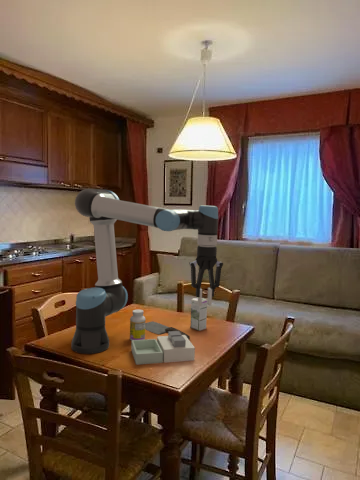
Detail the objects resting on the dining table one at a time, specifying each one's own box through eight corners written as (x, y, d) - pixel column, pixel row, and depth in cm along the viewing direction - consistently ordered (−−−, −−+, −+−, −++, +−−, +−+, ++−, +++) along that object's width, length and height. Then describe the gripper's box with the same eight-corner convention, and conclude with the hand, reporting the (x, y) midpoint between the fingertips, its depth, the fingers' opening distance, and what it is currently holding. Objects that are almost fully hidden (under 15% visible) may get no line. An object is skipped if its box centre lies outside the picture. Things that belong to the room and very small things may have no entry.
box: (136, 364, 137) (136, 354, 137) (131, 349, 151) (131, 340, 151) (162, 362, 140) (162, 352, 140) (155, 348, 153) (155, 338, 153)
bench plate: (163, 362, 140) (164, 349, 140) (156, 348, 154) (157, 336, 153) (194, 360, 143) (194, 347, 143) (184, 346, 157) (185, 334, 156)
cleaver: (193, 339, 166) (193, 334, 166) (177, 344, 160) (178, 339, 159) (151, 323, 187) (151, 318, 187) (136, 326, 181) (136, 322, 180)
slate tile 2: (170, 341, 148) (170, 335, 148) (168, 337, 153) (168, 331, 152) (181, 340, 149) (181, 334, 149) (178, 336, 154) (178, 330, 153)
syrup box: (206, 328, 180) (208, 299, 179) (198, 331, 176) (200, 301, 174) (197, 325, 184) (199, 296, 183) (189, 328, 180) (190, 298, 178)
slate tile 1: (174, 347, 142) (174, 340, 142) (171, 342, 147) (171, 336, 146) (185, 346, 144) (185, 340, 143) (182, 342, 148) (182, 336, 148)
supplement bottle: (129, 337, 165) (129, 308, 164) (144, 336, 166) (144, 308, 165) (130, 342, 159) (130, 313, 157) (145, 342, 160) (146, 312, 159)
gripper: (189, 246, 138) (186, 308, 140) (230, 247, 142) (227, 306, 145) (184, 244, 145) (181, 303, 148) (223, 244, 149) (220, 301, 152)
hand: (204, 304), depth 146 cm, fingers open, 3 cm apart
